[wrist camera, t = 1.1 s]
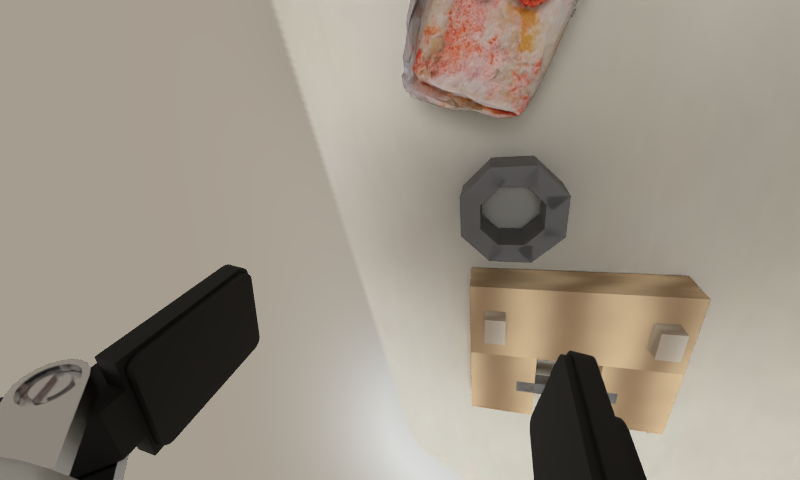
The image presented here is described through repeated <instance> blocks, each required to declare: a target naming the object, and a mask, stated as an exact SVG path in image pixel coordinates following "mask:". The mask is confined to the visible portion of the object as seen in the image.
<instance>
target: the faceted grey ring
mask: <svg viewBox="0 0 800 480" xmlns="http://www.w3.org/2000/svg"><path fill="white" fill-rule="evenodd" d="M503 187H528V188H529V189H530V190H531V191H533V192H534V193H535V194H536V195H537V196H538V197H539V198H540V199H541V205H540V214H539V215H538V216H536V217H535V218H534V219H533V220H531V221H530V222H529V223H528V224H527V225H525V226H524V227H523V228H522V229H498V228H497V227H496V226H495V225H493V224H492V223H491V222H490V221H489V220H488V219H487V218H486V217H485V216H483V215H482V203H483V202H484V201H485V200H487V199H488V198H489V197H490V196H491V195H492V194H493V193H494V192H495V191H496V190H497V189H498V188H503ZM570 197H571V196H570V194H569V193H568V191H567V189H566V188H565V186H564V184H563V183H562V182H561V181H560V180H559V179H558V178H557V177H556V176H555V175H554V174H553V173H552V172H550V171H549V170H548V169H547V168H546V167H545V166H544V165H543V164H542V163H541V162H540V161H539V160H538V159H537V158H536V157H535V156H519V157H498V158H491V159H490V160H489V161H488V162H487V163H486V164H485V165H484V166H483V167H482V168H481V169H480V170H479V171H478V172H477V173H476V174H475V175H474V176H473V177H472V178H471V179H470V180H469V181H468V182H467V183H466V184H465V185H464V186H463V189H462V193H461V196H460V217H461V236H462V237H463V238H464V239H465V240H466V241H468V242H469V243H470V244H471V245H472V246H473V247H474V248H475V249H477V250H478V251H479V252H480V253H481V254H482V255H483V256H484V257H486V258H487V259H488V260H489V261H502V262H533V261H534V260H535V259H537V258H538V257H539V256H541V255H542V254H543V253H545V252H546V251H548V250H549V249H550V248H552V247H553V246H554V245H556V244H557V243H558V242H560V241H561V240H563V239H564V238H565V237H566V230H567V222H568V214H569V205H570Z"/></svg>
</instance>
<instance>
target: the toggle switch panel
mask: <svg viewBox="0 0 800 480" xmlns="http://www.w3.org/2000/svg"><path fill="white" fill-rule="evenodd" d="M710 300H711V299H710V298H709V297H708V296H707V295H706V294H705V293H704V292H703V291H702V290H701V289H700V287H699V286H698V285H697V284H696V283H695V282H694V281H693V280H692V279H691V278H690V277H689V276H675V275H650V274H624V273H599V272H573V271H548V270H522V269H497V268H472V274H471V282H470V321H471V382H472V406H477V407H484V408H490V409H497V410H504V411H510V412H517V413H524V414H530V415H532V405H533V394H534V393H538V394H542V392H543V390H544V388H545V385H546V383H547V381H548V379H549V376H541V375H535V373H536V363H537V359H541V360H551V361H557V359H558V357H559V355H560V354H564V355H566V354H567V353H568V352H569V351H575V352H579V353H583V354H587V355H591V356H593V357H595V359H596V361H597V364H598V367H599V370H600V373H601V376H602V379H603V381H604V384H605V387H606V390H607V393H608V396H609V399H610V402H611V405H612V408H613V411H614V414H615V416H616V417H619V418H621V419H622V420H623V421H624V422H625V423H626V425H627V427H628V429H631V430H637V431H644V432H651V433H657V434H663V432H664V430H665V427H666V424H667V421H668V418H669V416H670V413H671V410H672V407H673V404H674V402H675V399H676V396H677V393H678V390H679V387H680V385H681V382H682V379H683V376H684V373H685V371H686V368H687V365H688V362H689V359H690V357H691V354H692V351H693V348H694V345H695V343H696V340H697V337H698V334H699V331H700V329H701V326H702V323H703V320H704V317H705V314H706V312H707V309H708V306H709V303H710Z"/></svg>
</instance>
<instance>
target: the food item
mask: <svg viewBox="0 0 800 480" xmlns="http://www.w3.org/2000/svg"><path fill="white" fill-rule="evenodd" d="M577 1H578V0H410V6H409V10H408V15H407V37H406V44H405V50H404V55H403V61H404V73H403V74H402V81H403V86H404V88H405V89H406V91H407V92H409V93H410V97H412V98H415V99H418V100H422V101H425V102H429V103H432V104H434V105H437V106H440V107H443V108H447V109H450V110H474V111H476V112H479V113H482V114H486V115H489V116H492V117H496V118H510V117H515V116H519V115H520V114H521V113H522V112H523V111H524V110H525V108H526V107H527V105H528V103H529V101H530V100H531V99H532V97H533V96H534V94H535V93H536V91H537V89H538V87H539V85H540V83H541V81H542V79H543V77H544V75H545V73H546V71H547V68H548V66H549V64H550V62H551V60H552V57H553V55H554V53H555V51H556V49H557V46H558V44H559V42H560V39H561V37H562V35H563V32H564V30H565V28H566V25H567V23H568V21H569V19H570V16H571V17H573V15H574V12H575V10H576V9H574V7H575V5H576V3H577Z"/></svg>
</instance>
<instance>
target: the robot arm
mask: <svg viewBox="0 0 800 480" xmlns="http://www.w3.org/2000/svg"><path fill="white" fill-rule="evenodd" d="M258 342H259V330H258V322H257V316H256V308H255V301H254V294H253V287H252V280H251V276H250V275H249V274H248V273H247V270H246V269H244V268H240V267H236V266H232V265H225V266H223V267H221V268H220V269H218V270H217V271H216V272H214V273H213V274H211V275H210V276H208V277H207V278H206V279H204V280H203V281H202V282H200V283H199V284H197V285H196V286H194V287H193V288H191V289H190V290H189V291H187V292H186V293H184V294H183V295H182V296H180V297H179V298H177V299H176V300H175V301H173V302H172V303H171V304H169V305H168V306H166V307H165V308H163V309H162V310H160V311H159V312H158V313H156V314H155V315H153V316H152V317H150V318H149V319H148V320H146V321H145V322H143V323H142V324H140V325H139V326H138V327H136V328H135V329H133V330H132V331H131V332H129V333H128V334H126V335H125V336H124V337H122V338H121V339H119V340H118V341H117V342H115V343H114V344H112V345H111V346H109V347H108V348H106V349H105V350H104V351H102V352H101V353H99V354H98V355H97V356H95V359H96V361H97V364H95V365H94V366H93V367H91V368H90V366H89V364H88V363H87V362H85V361H83V360H78V359H68V360H61V361H57V362H54V363H50V364H47V365H45V366H43V367H40V368H38V369H36V370H34V371H33V372H31V373H29V374H27V375H26V376H24V377H22V378H21V379H20V380H19V381H17V382H16V383H15V384H14V385H12V387H11V388H10V389H9V390H8V392H7V393H6V394H5V396H4V397H2V398H0V480H123V478H124V473H125V469H126V465H127V460H128V455H129V453H131V452H132V450H133V449H134V448H135V447H136V446H137V447H138V449H140V450H142V451H145V452H147V453H150V454H153V455H156V454H157V453H158V452H159V451H160V450H161V448H162V447H163V446H164V445H167V444H170V443H171V442H172V441H173V440H174V439H175V438H176V437H177V436H178V435H179V434H180V433H181V432H182V430H183V429H184V428H185V427H186V426H187V425H188V424H189V423H190V422H191V420H192V419H193V418H194V417H195V416H196V415H197V414H198V412H199V411H200V410H201V409H202V408H203V407H204V406H205V404H206V403H207V402H208V401H209V400H210V399H211V398H212V397H213V395H214V394H215V393H216V392H217V391H218V389H220V387H221V386H222V385H223V384H224V383H225V382H226V381H227V380H228V378H229V377H230V376H231V375H232V374H233V373H234V372H235V370H236V369H237V368H238V367H239V366H240V365H241V364H242V362H243V361H244V360H245V359H246V358H247V357H248V356H249V355H250V353H251V352H252V351H253V350H254V349H255V348H256V346H257V344H258ZM530 437H531V449H532V460H533V472H534V480H647V479H646V476H645V474H644V471H643V468H642V465H641V462H640V460H639V457H638V454H637V451H636V449H635V446H634V443H633V440H632V438H631V435H630V432H629V429H628V427H627V425H626V423H625V422H624V421H623V420H622V419H621V418H619V417H616V416H615V414H614V411H613V408H612V405H611V402H610V399H609V396H608V393H607V390H606V387H605V384H604V381H603V379H602V376H601V373H600V370H599V367H598V364H597V361H596V359H595V357H593V356H591V355H587V354H583V353H579V352H575V351H569V352H568V353H567V354H566V355H564V354H560V355H559V357H558V359H557V361H556V363H555V366H554V368H553V370H552V372H551V374H550V377H549V379H548V381H547V383H546V385H545V388H544V390H543V392H542V394H541V396H540V399H539V401H538V403H537V405H536V407H535V410H534V412H533V414H532V417H531V420H530Z"/></svg>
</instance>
